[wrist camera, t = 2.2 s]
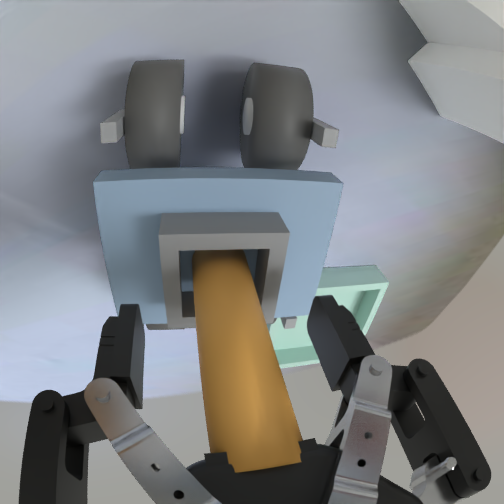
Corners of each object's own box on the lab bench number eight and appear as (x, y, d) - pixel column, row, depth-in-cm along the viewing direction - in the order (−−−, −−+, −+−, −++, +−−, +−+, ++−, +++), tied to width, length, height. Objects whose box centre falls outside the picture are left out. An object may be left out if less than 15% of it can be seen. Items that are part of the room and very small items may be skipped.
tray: (375, 265, 32) (389, 282, 30) (345, 339, 39) (354, 356, 36) (269, 270, 30) (277, 290, 27) (256, 350, 36) (261, 370, 34)
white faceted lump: (440, 116, 23) (538, 162, 14) (376, 18, 18) (491, 15, 8) (490, 62, 20) (580, 90, 10) (438, -29, 15) (539, -33, 5)
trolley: (297, 69, 20) (386, 81, 10) (267, 286, 31) (301, 385, 21) (130, 63, 17) (71, 61, 8) (143, 290, 28) (134, 397, 19)
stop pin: (247, 237, 16) (322, 454, 7) (243, 281, 17) (299, 479, 8) (191, 238, 15) (215, 471, 6) (192, 283, 17) (215, 492, 8)
